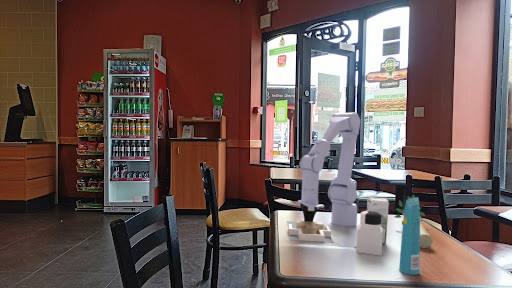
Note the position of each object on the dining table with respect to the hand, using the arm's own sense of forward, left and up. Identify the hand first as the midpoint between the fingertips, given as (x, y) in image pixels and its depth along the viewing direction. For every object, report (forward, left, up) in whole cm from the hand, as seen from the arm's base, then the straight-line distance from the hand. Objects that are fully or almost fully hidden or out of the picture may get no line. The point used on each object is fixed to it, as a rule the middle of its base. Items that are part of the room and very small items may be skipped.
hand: (308, 227), depth 128 cm
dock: (0, +7, -1) cm, 7 cm away
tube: (-23, +33, -2) cm, 40 cm away
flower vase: (-39, -6, -2) cm, 40 cm away
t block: (0, +6, -1) cm, 6 cm away
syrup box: (-22, +6, -2) cm, 23 cm away
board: (0, +1, -2) cm, 2 cm away
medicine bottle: (-17, +17, -2) cm, 24 cm away
